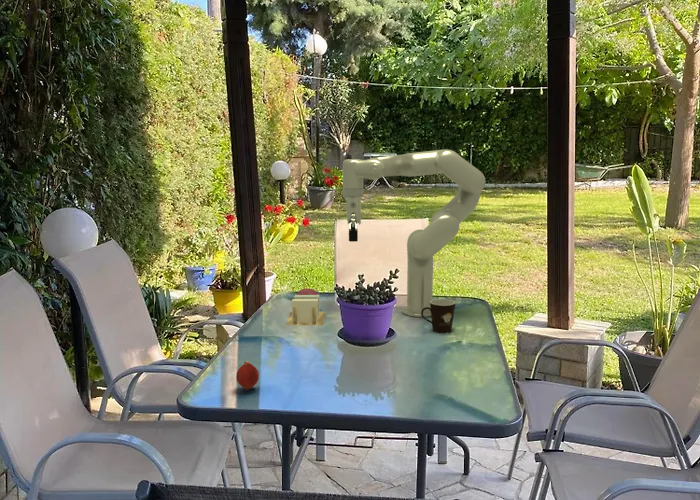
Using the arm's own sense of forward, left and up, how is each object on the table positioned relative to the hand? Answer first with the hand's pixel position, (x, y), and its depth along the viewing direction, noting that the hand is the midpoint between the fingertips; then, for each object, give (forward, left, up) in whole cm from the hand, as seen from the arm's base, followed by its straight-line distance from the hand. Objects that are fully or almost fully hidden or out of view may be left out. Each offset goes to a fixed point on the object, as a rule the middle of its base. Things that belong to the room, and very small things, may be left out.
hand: (353, 239), depth 237 cm
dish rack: (+17, +12, -28) cm, 35 cm away
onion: (+28, +74, -28) cm, 84 cm away
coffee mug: (-29, +22, -28) cm, 46 cm away
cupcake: (+18, -10, -28) cm, 35 cm away
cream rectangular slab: (+17, +17, -27) cm, 36 cm away
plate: (+17, +7, -27) cm, 32 cm away
